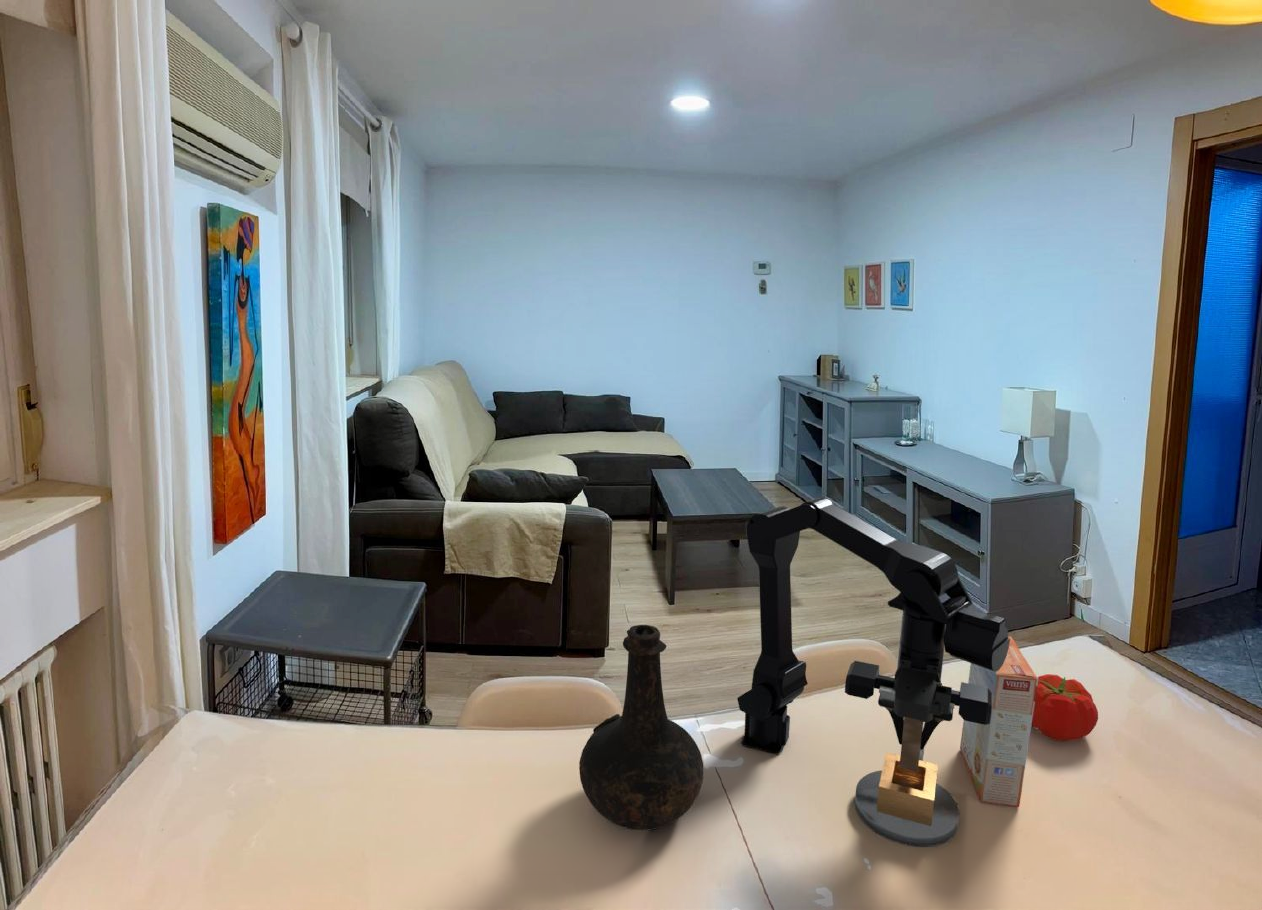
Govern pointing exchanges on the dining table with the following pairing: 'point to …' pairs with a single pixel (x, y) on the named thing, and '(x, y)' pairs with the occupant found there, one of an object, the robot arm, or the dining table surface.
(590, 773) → the glass bottle
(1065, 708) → the tomato
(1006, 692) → the cracker box
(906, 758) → the block
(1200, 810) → the dining table surface
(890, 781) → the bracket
